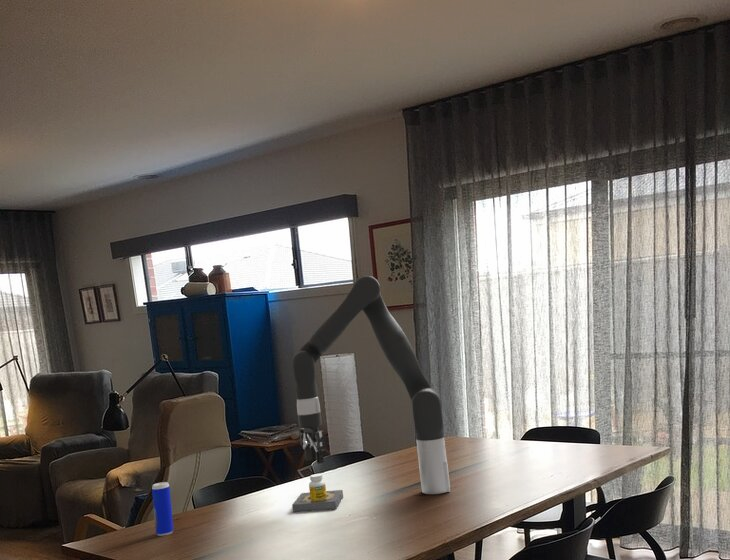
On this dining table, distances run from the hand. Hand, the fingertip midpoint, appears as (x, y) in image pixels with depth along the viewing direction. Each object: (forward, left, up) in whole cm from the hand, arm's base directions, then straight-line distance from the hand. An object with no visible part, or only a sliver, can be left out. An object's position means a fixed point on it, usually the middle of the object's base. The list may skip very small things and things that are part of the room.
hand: (314, 461), depth 227 cm
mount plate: (0, 0, -14) cm, 14 cm away
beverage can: (+44, +19, -14) cm, 50 cm away
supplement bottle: (0, 0, -14) cm, 14 cm away
